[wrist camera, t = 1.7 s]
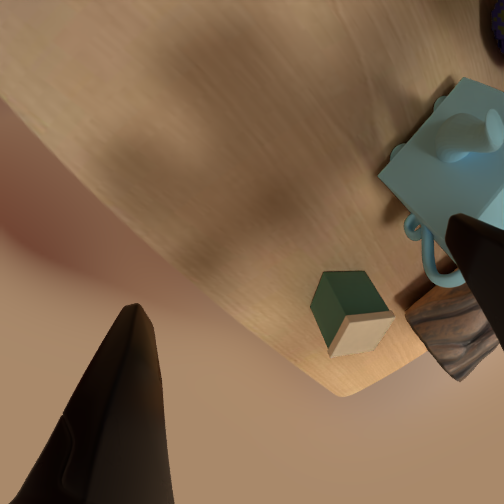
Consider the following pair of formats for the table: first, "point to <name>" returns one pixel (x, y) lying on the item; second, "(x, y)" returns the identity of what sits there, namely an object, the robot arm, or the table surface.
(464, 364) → the sculpture
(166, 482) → the robot arm
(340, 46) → the table surface
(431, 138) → the teapot
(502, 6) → the ball
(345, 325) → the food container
